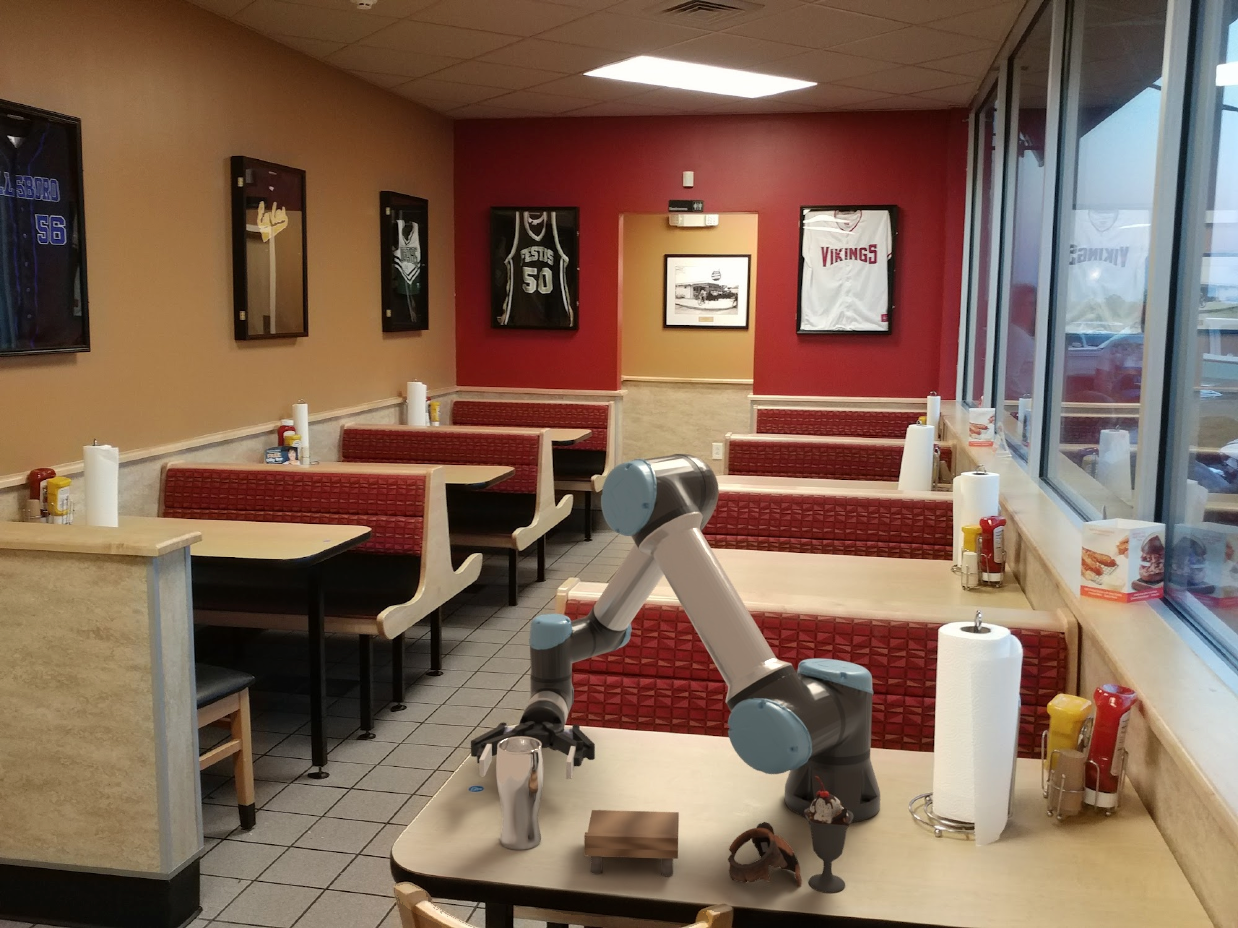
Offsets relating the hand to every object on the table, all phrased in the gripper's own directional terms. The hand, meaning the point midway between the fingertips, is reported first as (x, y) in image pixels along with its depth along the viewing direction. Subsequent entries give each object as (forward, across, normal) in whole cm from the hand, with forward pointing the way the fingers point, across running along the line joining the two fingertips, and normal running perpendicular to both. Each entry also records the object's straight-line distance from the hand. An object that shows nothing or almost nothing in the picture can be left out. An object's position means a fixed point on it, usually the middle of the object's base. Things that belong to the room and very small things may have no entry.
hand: (525, 769), depth 172 cm
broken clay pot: (+16, -36, -8) cm, 40 cm away
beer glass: (+8, 0, -8) cm, 11 cm away
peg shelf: (+11, -17, -8) cm, 22 cm away
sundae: (+17, -44, -8) cm, 48 cm away
